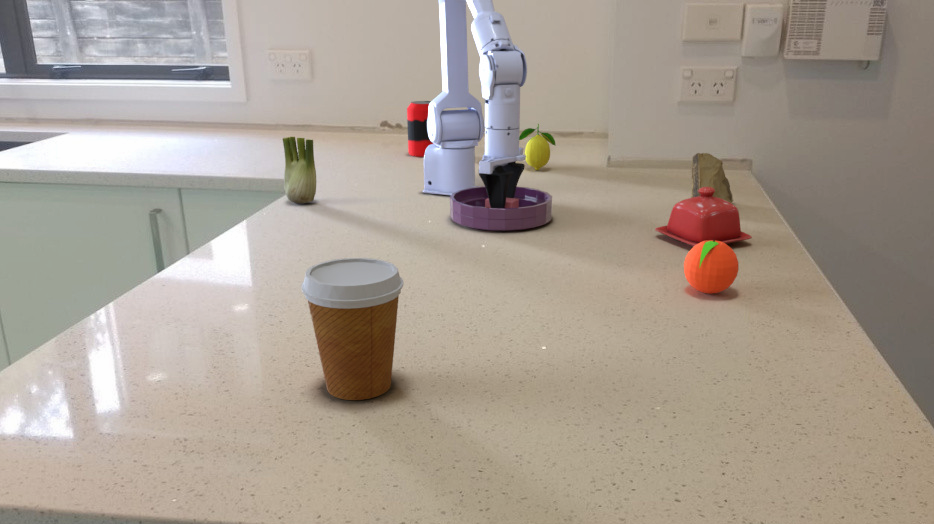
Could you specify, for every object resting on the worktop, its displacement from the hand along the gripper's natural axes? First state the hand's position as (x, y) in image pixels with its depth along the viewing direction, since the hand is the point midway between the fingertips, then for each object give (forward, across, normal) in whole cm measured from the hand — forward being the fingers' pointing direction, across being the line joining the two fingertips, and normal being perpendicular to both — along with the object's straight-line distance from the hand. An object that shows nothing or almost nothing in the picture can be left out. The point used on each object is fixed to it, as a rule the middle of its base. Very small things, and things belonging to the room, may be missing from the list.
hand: (501, 208), depth 143 cm
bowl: (+2, 0, 0) cm, 2 cm away
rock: (+2, +24, -32) cm, 40 cm away
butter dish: (+2, +1, -34) cm, 34 cm away
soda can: (+2, +49, +40) cm, 63 cm away
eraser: (+1, 0, 0) cm, 1 cm away
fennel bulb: (+2, -4, +38) cm, 38 cm away
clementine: (+2, -24, -39) cm, 46 cm away
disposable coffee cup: (+2, -66, -12) cm, 67 cm away
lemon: (+2, +42, +9) cm, 43 cm away
